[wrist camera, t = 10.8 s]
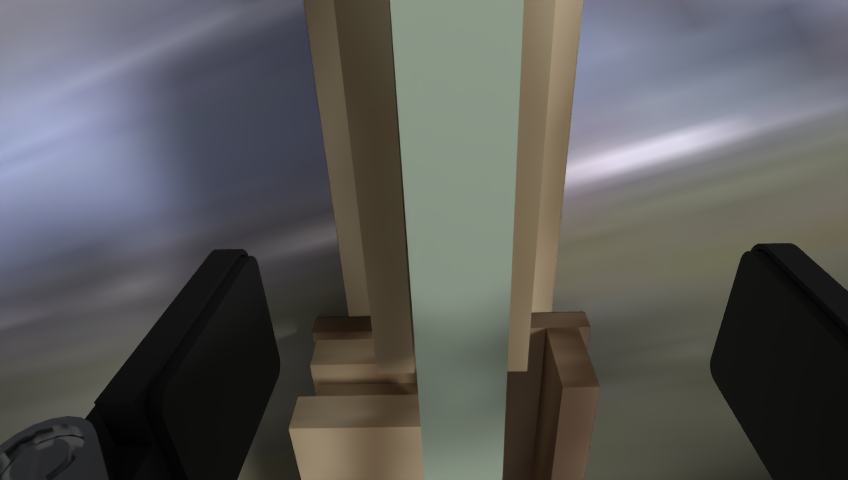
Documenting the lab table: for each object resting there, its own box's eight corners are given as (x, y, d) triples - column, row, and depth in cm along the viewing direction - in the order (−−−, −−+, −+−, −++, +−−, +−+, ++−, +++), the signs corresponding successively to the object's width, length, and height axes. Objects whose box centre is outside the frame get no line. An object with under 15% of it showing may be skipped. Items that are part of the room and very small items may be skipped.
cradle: (594, -211, 17) (653, -265, 12) (547, 297, 27) (569, 370, 22) (284, -193, 17) (230, -239, 13) (351, 301, 27) (335, 374, 23)
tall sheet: (473, -129, 17) (534, -231, 7) (472, 281, 25) (500, 528, 15) (410, -126, 17) (373, -220, 7) (430, 282, 25) (427, 529, 15)
